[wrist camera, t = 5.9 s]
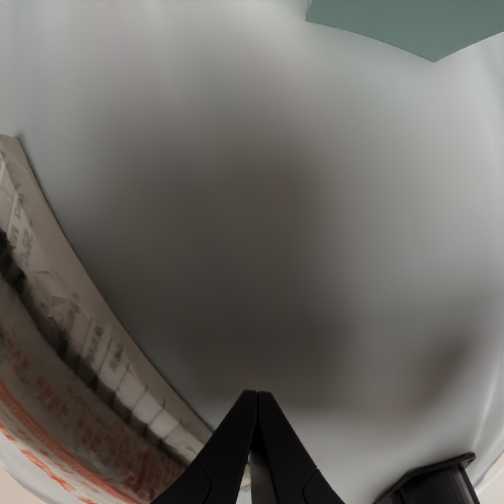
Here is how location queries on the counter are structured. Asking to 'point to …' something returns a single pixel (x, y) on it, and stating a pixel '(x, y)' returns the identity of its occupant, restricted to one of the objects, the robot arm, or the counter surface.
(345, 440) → the counter surface
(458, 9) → the pale teal block
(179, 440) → the packaged product
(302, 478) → the robot arm
